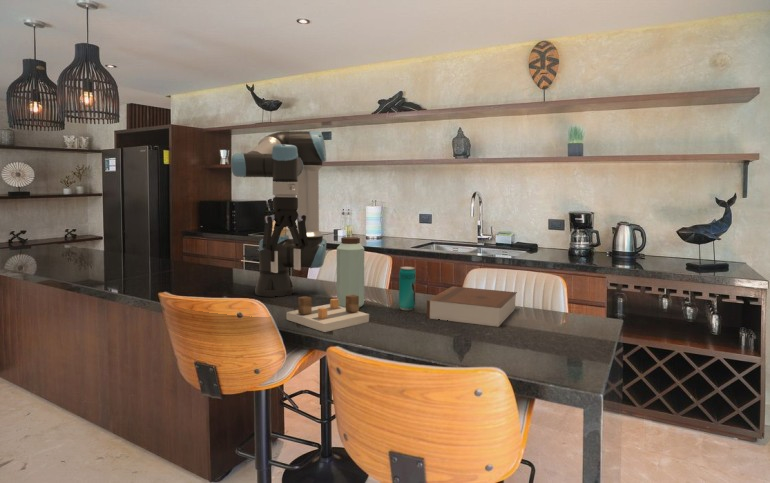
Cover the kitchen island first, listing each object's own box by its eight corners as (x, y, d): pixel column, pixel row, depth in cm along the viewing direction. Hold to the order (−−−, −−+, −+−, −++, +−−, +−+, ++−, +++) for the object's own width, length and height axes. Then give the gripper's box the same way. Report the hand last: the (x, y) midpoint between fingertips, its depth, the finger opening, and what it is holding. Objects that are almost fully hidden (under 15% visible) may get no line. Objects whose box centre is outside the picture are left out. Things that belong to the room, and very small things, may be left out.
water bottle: (351, 301, 194) (351, 236, 191) (369, 306, 187) (370, 238, 184) (330, 305, 187) (330, 237, 184) (348, 310, 180) (348, 239, 177)
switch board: (286, 319, 167) (286, 302, 166) (330, 310, 179) (330, 295, 179) (324, 332, 152) (324, 314, 152) (369, 321, 165) (369, 305, 164)
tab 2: (345, 310, 167) (345, 295, 167) (352, 309, 170) (352, 294, 169) (351, 312, 165) (351, 297, 165) (358, 311, 167) (358, 296, 167)
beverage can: (413, 311, 180) (414, 269, 178) (397, 310, 181) (398, 268, 179) (416, 307, 185) (416, 266, 184) (400, 306, 186) (400, 266, 185)
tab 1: (298, 312, 164) (298, 297, 164) (306, 311, 166) (306, 296, 166) (303, 314, 162) (303, 299, 161) (311, 313, 164) (311, 297, 164)
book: (426, 319, 170) (426, 300, 170) (451, 303, 196) (452, 286, 195) (500, 328, 160) (500, 308, 160) (516, 310, 185) (517, 292, 185)
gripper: (262, 196, 146) (263, 276, 148) (319, 196, 160) (320, 269, 162) (248, 196, 151) (249, 272, 153) (305, 196, 165) (306, 266, 168)
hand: (286, 270), depth 158 cm, fingers open, 8 cm apart
